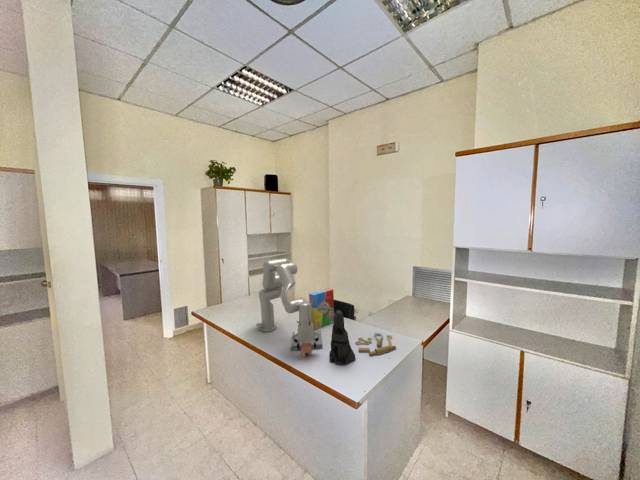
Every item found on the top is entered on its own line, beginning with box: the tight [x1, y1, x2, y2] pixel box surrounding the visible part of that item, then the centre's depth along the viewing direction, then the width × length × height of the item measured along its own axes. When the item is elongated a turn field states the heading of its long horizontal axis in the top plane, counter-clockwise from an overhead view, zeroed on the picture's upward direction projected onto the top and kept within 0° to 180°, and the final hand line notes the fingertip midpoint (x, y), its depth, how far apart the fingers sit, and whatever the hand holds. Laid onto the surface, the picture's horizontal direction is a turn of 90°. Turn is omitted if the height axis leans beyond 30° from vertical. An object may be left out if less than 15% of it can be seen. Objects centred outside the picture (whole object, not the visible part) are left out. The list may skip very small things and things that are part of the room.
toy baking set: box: [354, 332, 397, 356], centre depth 167 cm, size 33×25×4 cm
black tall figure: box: [328, 309, 357, 366], centre depth 149 cm, size 14×14×30 cm
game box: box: [308, 287, 335, 331], centre depth 197 cm, size 21×6×27 cm, turn 129°
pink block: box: [301, 341, 313, 358], centre depth 157 cm, size 6×6×7 cm
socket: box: [290, 329, 324, 351], centre depth 173 cm, size 20×20×4 cm
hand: (306, 348), depth 157 cm, fingers open, 9 cm apart
